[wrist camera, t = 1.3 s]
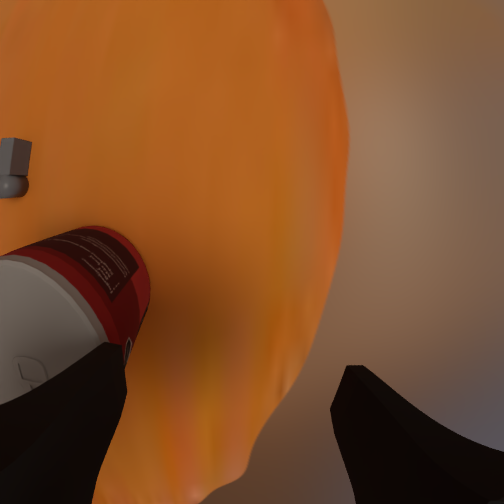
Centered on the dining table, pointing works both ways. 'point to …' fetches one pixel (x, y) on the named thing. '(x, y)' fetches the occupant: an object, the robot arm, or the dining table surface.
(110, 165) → the dining table surface
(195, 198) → the dining table surface
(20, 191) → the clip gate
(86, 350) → the canned food
